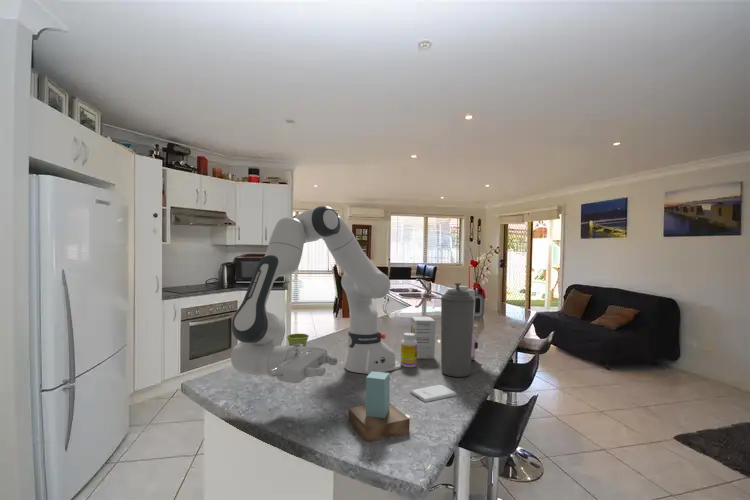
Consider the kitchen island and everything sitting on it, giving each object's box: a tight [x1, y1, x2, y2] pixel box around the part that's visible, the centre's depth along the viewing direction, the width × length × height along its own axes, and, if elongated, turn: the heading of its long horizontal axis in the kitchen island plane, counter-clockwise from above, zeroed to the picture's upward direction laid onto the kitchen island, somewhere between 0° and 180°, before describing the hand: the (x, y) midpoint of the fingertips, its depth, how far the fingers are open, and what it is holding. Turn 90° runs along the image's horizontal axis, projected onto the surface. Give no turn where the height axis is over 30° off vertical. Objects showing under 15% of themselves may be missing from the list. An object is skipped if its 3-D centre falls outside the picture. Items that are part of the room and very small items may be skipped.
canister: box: [440, 282, 474, 378], centre depth 141 cm, size 13×13×35 cm
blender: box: [447, 285, 485, 361], centre depth 159 cm, size 16×12×32 cm
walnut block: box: [347, 402, 411, 443], centre depth 96 cm, size 12×12×4 cm
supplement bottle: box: [400, 332, 418, 368], centre depth 149 cm, size 7×7×13 cm
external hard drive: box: [409, 384, 457, 403], centre depth 119 cm, size 2×8×12 cm
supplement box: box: [410, 316, 436, 359], centre depth 164 cm, size 10×9×17 cm
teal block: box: [365, 371, 391, 419], centre depth 96 cm, size 5×5×10 cm
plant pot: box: [286, 333, 309, 347], centre depth 158 cm, size 9×9×9 cm
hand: (330, 366), depth 101 cm, fingers open, 8 cm apart
